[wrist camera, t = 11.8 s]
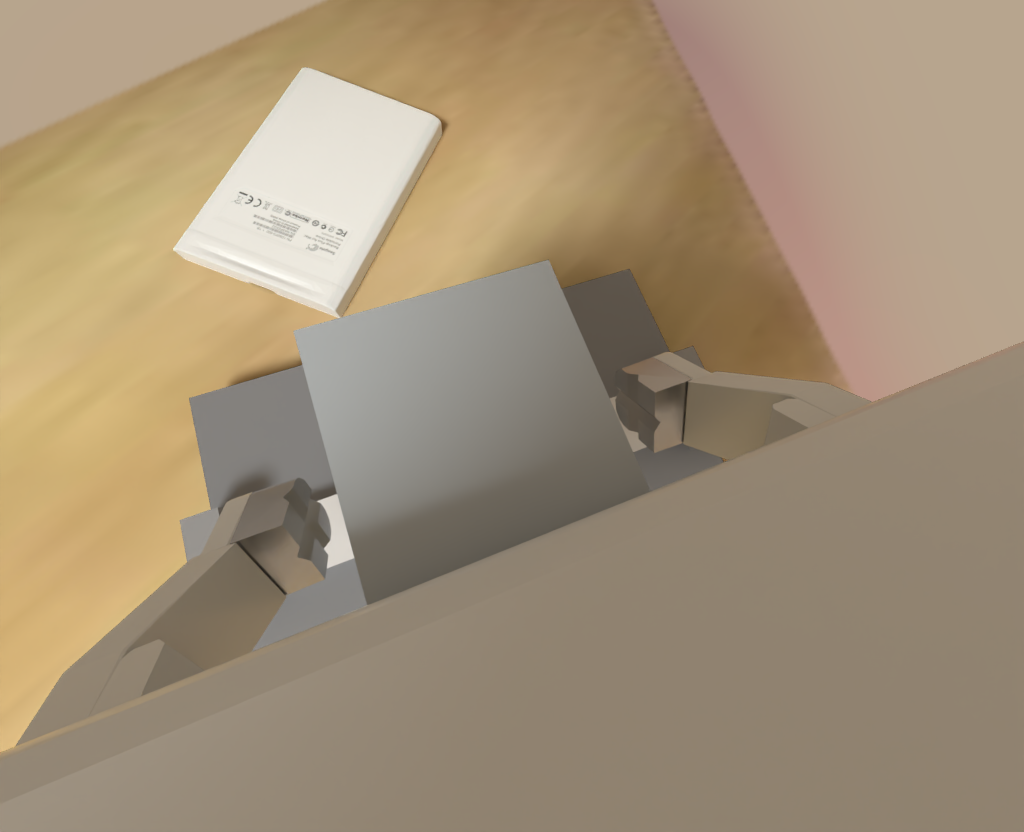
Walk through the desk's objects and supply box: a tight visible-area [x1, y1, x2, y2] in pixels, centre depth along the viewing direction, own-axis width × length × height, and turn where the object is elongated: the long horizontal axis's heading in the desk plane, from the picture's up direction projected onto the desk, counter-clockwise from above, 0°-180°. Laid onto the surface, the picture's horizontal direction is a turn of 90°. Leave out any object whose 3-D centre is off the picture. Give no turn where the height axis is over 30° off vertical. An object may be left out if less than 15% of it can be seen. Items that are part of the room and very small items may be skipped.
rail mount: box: [180, 269, 723, 651], centre depth 15 cm, size 20×14×3 cm
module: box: [294, 260, 650, 605], centre depth 11 cm, size 5×6×9 cm
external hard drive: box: [173, 67, 442, 318], centre depth 19 cm, size 2×8×12 cm
